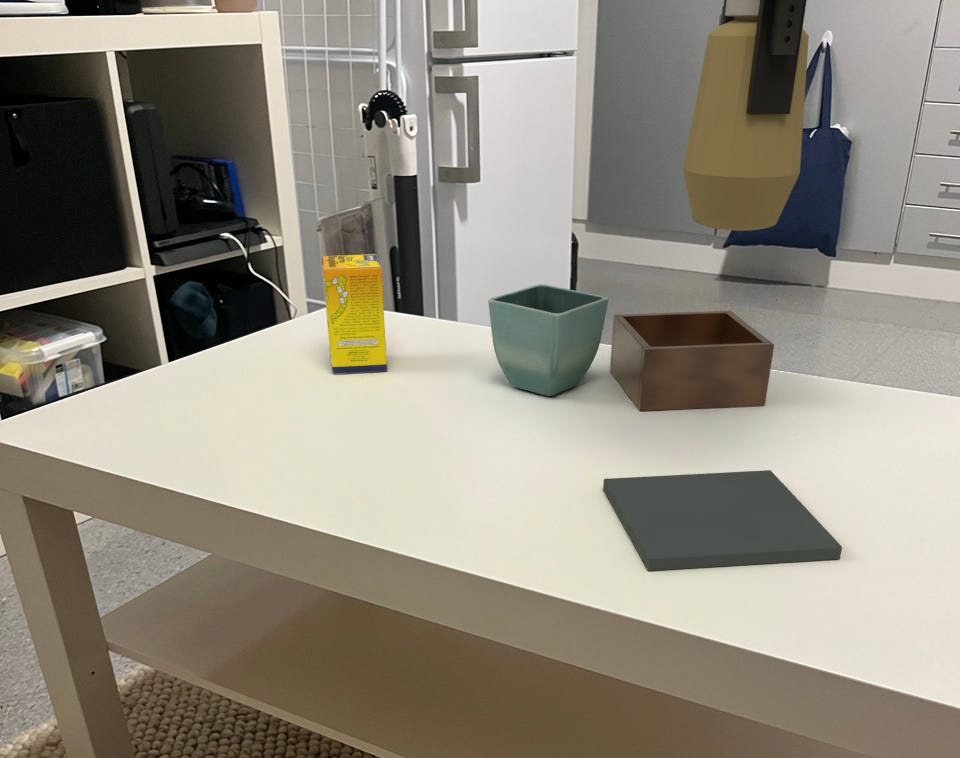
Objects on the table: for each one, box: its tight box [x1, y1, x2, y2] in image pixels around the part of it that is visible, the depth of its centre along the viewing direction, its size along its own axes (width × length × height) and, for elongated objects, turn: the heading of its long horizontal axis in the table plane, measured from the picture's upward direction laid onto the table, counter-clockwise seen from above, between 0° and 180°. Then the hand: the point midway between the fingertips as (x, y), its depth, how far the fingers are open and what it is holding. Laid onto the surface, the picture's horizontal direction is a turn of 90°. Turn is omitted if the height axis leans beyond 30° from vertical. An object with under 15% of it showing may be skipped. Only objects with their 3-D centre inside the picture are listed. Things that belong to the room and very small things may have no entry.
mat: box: [602, 469, 843, 572], centre depth 77 cm, size 14×14×1 cm
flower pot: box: [487, 283, 609, 397], centre depth 102 cm, size 9×9×9 cm
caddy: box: [609, 310, 775, 412], centre depth 102 cm, size 13×13×6 cm
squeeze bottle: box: [682, 0, 810, 232], centre depth 68 cm, size 8×8×18 cm
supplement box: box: [321, 253, 388, 375], centre depth 107 cm, size 6×6×11 cm
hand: (749, 108), depth 69 cm, fingers closed on squeeze bottle, 6 cm apart
